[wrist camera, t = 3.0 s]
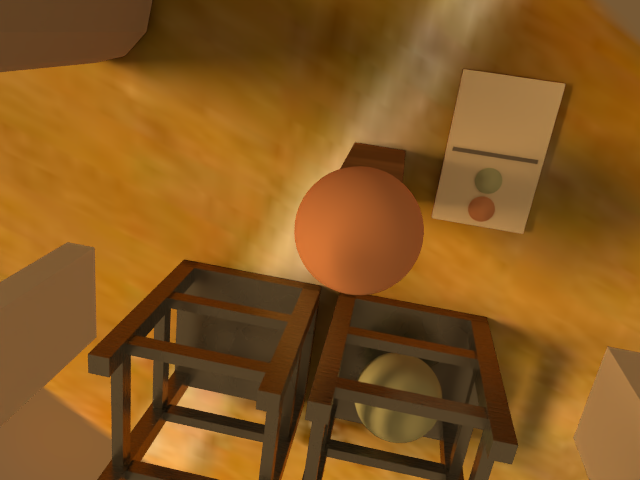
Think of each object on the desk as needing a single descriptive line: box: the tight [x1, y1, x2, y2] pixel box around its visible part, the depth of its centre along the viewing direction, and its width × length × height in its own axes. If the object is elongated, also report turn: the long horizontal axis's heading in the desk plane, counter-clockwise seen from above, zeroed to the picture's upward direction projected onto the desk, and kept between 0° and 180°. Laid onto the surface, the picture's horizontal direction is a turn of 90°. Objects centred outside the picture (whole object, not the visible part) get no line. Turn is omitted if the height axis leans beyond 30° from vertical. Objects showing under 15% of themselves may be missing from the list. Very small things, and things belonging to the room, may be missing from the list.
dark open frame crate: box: [302, 292, 518, 480], centre depth 30 cm, size 9×9×11 cm
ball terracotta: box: [295, 166, 424, 295], centre depth 22 cm, size 5×5×5 cm
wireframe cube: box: [88, 260, 321, 480], centre depth 31 cm, size 9×9×11 cm
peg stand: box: [340, 143, 406, 183], centre depth 27 cm, size 3×3×8 cm
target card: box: [432, 69, 566, 234], centre depth 29 cm, size 8×5×1 cm, turn 173°
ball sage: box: [355, 353, 442, 443], centre depth 32 cm, size 5×5×5 cm
